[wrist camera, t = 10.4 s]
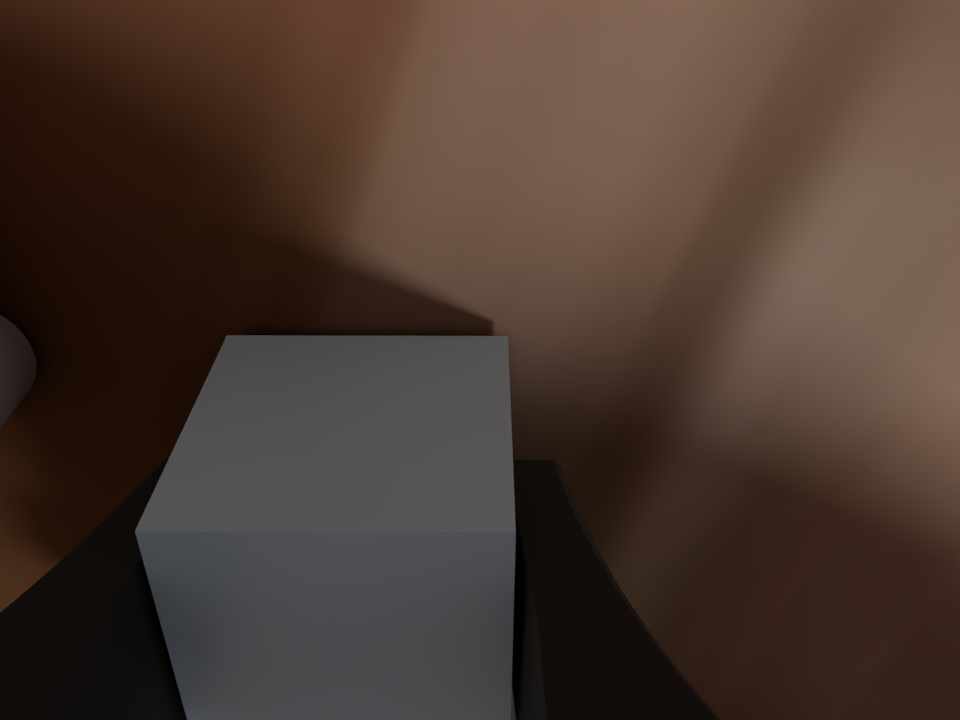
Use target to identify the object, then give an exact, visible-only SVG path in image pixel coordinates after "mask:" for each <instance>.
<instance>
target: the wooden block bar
mask: <svg viewBox="0 0 960 720" xmlns="http://www.w3.org/2000/svg"><path fill="white" fill-rule="evenodd" d="M36 374H37V363H36V358H35V355H34V352H33V349H32V347H31V345H30V343H29V342H28V340H27V339H26V337H25V336H24V335H23V334H22V332H21V331H20V330H19V329H18V328H17V327H16V326H15V325H14V324H13V323H11V322H10V321H9V320H8V319H6V318H5V317H3V316H2V315H0V429H1V427H2V426H3V425H4V423H5V422H6V421H7V419H8V418H9V417H10V415H11V414H12V413H13V411H14V410H15V409H16V408H17V406H18V405H19V404H20V402H21V401H22V400H23V398H24V397H25V396H26V394H27V393H28V392H29V390H30V389H31V388H32V386H33V384H34V382H35V379H36Z"/></svg>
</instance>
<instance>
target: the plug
mask: <svg viewBox="0 0 960 720" xmlns="http://www.w3.org/2000/svg"><path fill="white" fill-rule="evenodd" d="M135 534H136V537H137V541H138V544H139V548H140V552H141V555H142V559H143V562H144V566H145V570H146V573H147V577H148V580H149V584H150V588H151V591H152V595H153V599H154V602H155V606H156V609H157V613H158V617H159V620H160V624H161V627H162V631H163V635H164V638H165V642H166V645H167V649H168V653H169V656H170V660H171V663H172V667H173V671H174V674H175V678H176V681H177V685H178V689H179V692H180V696H181V699H182V703H183V707H184V710H185V714H186V717H187V720H516V718H515V709H514V700H513V691H512V654H513V618H514V582H515V546H516V523H515V498H514V473H513V448H512V422H511V397H510V372H509V347H508V336H310V335H227V336H226V338H225V340H224V342H223V345H222V347H221V349H220V351H219V353H218V355H217V357H216V360H215V362H214V364H213V366H212V368H211V370H210V372H209V374H208V377H207V379H206V381H205V383H204V385H203V387H202V389H201V391H200V394H199V396H198V398H197V400H196V402H195V404H194V406H193V409H192V411H191V413H190V415H189V417H188V419H187V421H186V423H185V426H184V428H183V430H182V432H181V434H180V436H179V438H178V440H177V443H176V445H175V447H174V449H173V451H172V453H171V455H170V457H169V460H168V462H167V464H166V466H165V468H164V470H163V472H162V475H161V477H160V479H159V481H158V483H157V485H156V487H155V489H154V492H153V494H152V496H151V498H150V500H149V502H148V504H147V506H146V509H145V511H144V513H143V515H142V517H141V519H140V521H139V524H138V526H137V528H136V530H135Z"/></svg>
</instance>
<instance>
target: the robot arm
mask: <svg viewBox="0 0 960 720" xmlns="http://www.w3.org/2000/svg"><path fill="white" fill-rule="evenodd" d="M168 460H169V458H167V459H166V460H165V461H164V462H163V463H162V464H161V465H160V466H159V467H158V468H157V469H156V470H155V471H154V472H153V473H152V474H151V475H150V476H149V477H148V478H147V479H146V480H145V481H143V482H142V483H141V484H140V485H139V486H138V487H137V488H136V489H135V490H134V491H133V492H132V493H131V494H130V495H129V496H128V497H127V498H126V499H125V500H124V501H123V502H122V503H121V504H120V505H119V506H118V507H117V508H116V509H115V510H114V511H113V512H112V513H111V514H110V515H109V516H108V517H107V518H106V519H105V520H104V521H103V522H102V523H101V524H100V525H99V526H98V527H96V528H95V529H94V530H93V531H92V532H91V533H90V534H89V535H88V536H87V537H86V538H85V539H84V540H83V541H82V542H81V543H79V544H78V545H77V546H76V547H75V548H74V549H73V550H72V551H71V552H70V553H69V554H68V555H67V556H66V557H65V558H63V559H62V560H61V561H60V562H59V563H58V564H57V565H56V566H55V567H53V568H52V569H51V570H50V571H49V572H48V573H46V574H45V575H44V576H43V577H42V578H41V579H40V580H38V581H37V582H36V583H35V584H34V585H33V586H31V587H30V588H29V589H28V590H27V591H26V592H24V593H23V594H22V595H21V596H20V597H19V598H17V599H16V600H15V601H14V602H13V603H12V604H10V605H9V606H8V607H7V608H6V609H4V610H3V611H2V612H1V613H0V720H187V717H186V714H185V710H184V707H183V703H182V699H181V696H180V692H179V689H178V685H177V681H176V678H175V674H174V671H173V667H172V663H171V660H170V656H169V653H168V649H167V645H166V642H165V638H164V635H163V631H162V627H161V624H160V620H159V617H158V613H157V609H156V606H155V602H154V599H153V595H152V591H151V588H150V584H149V580H148V577H147V573H146V570H145V566H144V562H143V559H142V555H141V552H140V548H139V544H138V541H137V537H136V534H135V530H136V528H137V526H138V524H139V521H140V519H141V517H142V515H143V513H144V511H145V509H146V506H147V504H148V502H149V500H150V498H151V496H152V494H153V492H154V489H155V487H156V485H157V483H158V481H159V479H160V477H161V475H162V472H163V470H164V468H165V466H166V464H167V462H168ZM513 473H514V498H515V523H516V546H515V582H514V618H513V654H512V691H513V700H514V709H515V718H516V720H721V719H720V718H719V717H718V716H717V715H716V714H715V713H714V712H713V711H712V710H711V709H710V707H709V706H708V705H707V704H706V703H705V702H704V700H703V699H702V698H701V697H700V696H699V694H698V693H697V692H696V691H695V690H694V688H693V687H692V686H691V685H690V684H689V683H688V681H687V680H686V679H685V678H684V677H683V675H682V674H681V673H680V672H679V670H678V669H677V668H676V666H675V665H674V664H673V663H672V661H671V660H670V659H669V657H668V656H667V655H666V654H665V652H664V651H663V650H662V648H661V647H660V646H659V644H658V643H657V642H656V640H655V639H654V637H653V636H652V635H651V633H650V632H649V630H648V629H647V628H646V626H645V625H644V623H643V622H642V620H641V619H640V617H639V616H638V614H637V613H636V611H635V610H634V608H633V607H632V605H631V604H630V602H629V601H628V599H627V598H626V596H625V595H624V593H623V592H622V590H621V588H620V587H619V585H618V583H617V582H616V580H615V579H614V577H613V575H612V574H611V572H610V570H609V568H608V567H607V565H606V563H605V561H604V560H603V558H602V556H601V554H600V553H599V551H598V549H597V547H596V546H595V544H594V542H593V540H592V538H591V536H590V534H589V532H588V530H587V529H586V526H585V524H584V522H583V520H582V518H581V516H580V514H579V512H578V510H577V508H576V506H575V503H574V501H573V499H572V497H571V494H570V492H569V489H568V487H567V484H566V481H565V479H564V476H563V473H562V469H561V467H560V466H559V465H558V464H557V463H556V462H555V461H541V460H513Z"/></svg>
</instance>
